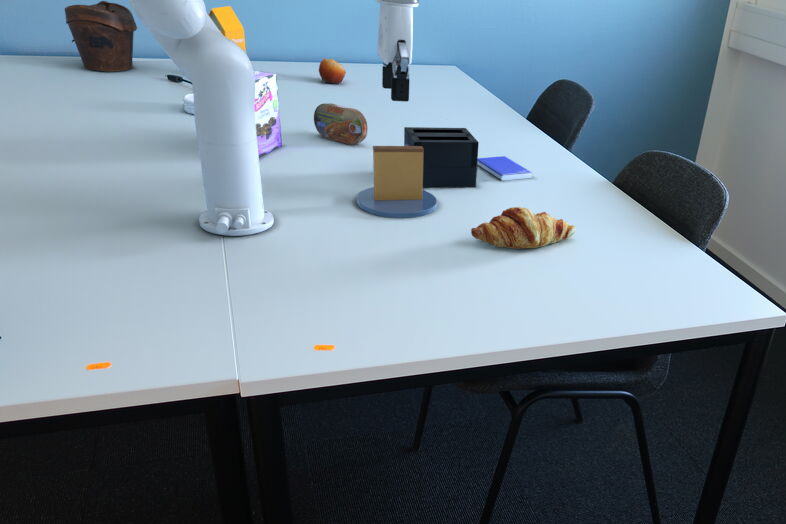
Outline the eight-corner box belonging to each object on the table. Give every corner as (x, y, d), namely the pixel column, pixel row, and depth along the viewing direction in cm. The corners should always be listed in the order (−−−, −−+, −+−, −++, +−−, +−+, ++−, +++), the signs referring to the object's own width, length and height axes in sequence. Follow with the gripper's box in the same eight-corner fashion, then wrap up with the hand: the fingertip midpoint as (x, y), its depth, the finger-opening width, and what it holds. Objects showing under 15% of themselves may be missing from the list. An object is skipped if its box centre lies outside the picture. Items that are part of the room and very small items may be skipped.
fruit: (310, 74, 234) (323, 51, 233) (333, 88, 239) (345, 66, 237) (315, 80, 228) (328, 57, 227) (338, 94, 233) (351, 71, 231)
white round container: (226, 116, 192) (225, 102, 190) (184, 115, 188) (182, 101, 187) (225, 106, 200) (223, 92, 198) (184, 105, 196) (182, 91, 194)
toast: (422, 199, 153) (423, 148, 148) (374, 200, 150) (374, 148, 144) (420, 196, 154) (421, 146, 149) (373, 197, 151) (372, 145, 146)
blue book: (532, 171, 174) (506, 155, 183) (501, 174, 170) (476, 158, 179) (531, 178, 175) (505, 162, 184) (501, 181, 171) (476, 164, 180)
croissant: (564, 248, 150) (561, 208, 150) (588, 244, 141) (585, 201, 140) (465, 254, 142) (461, 211, 141) (483, 250, 133) (479, 204, 132)
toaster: (475, 187, 166) (478, 142, 161) (407, 188, 161) (408, 141, 156) (463, 171, 174) (465, 127, 169) (398, 171, 169) (398, 127, 164)
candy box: (252, 161, 165) (244, 84, 156) (227, 157, 165) (218, 80, 157) (283, 145, 176) (277, 72, 168) (260, 141, 177) (253, 69, 168)
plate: (441, 218, 148) (441, 213, 148) (358, 217, 144) (358, 212, 144) (432, 190, 161) (432, 186, 161) (355, 188, 157) (355, 184, 157)
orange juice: (208, 80, 221) (199, 6, 211) (227, 75, 228) (219, 3, 218) (231, 84, 219) (223, 10, 209) (249, 79, 227) (242, 7, 216)
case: (132, 59, 233) (121, -4, 224) (152, 73, 221) (141, 7, 212) (67, 61, 223) (53, -5, 214) (84, 76, 211) (70, 6, 201)
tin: (313, 135, 186) (311, 100, 182) (322, 132, 188) (320, 98, 184) (361, 148, 181) (360, 113, 176) (369, 146, 183) (369, 111, 179)
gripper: (368, -14, 138) (368, 83, 147) (384, -1, 124) (382, 105, 133) (409, -10, 140) (406, 85, 149) (428, 3, 127) (424, 107, 136)
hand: (395, 94), depth 141 cm, fingers open, 9 cm apart
